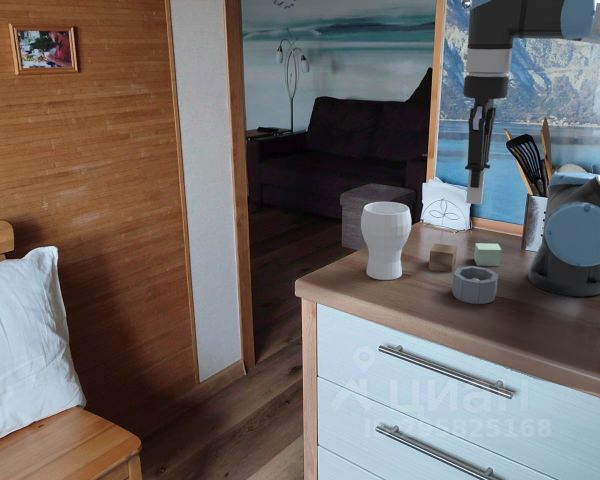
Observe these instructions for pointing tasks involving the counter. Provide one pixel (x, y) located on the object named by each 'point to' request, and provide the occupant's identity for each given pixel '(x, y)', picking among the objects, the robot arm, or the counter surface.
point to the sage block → (487, 254)
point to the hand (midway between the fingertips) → (474, 202)
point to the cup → (385, 237)
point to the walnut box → (442, 257)
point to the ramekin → (475, 285)
